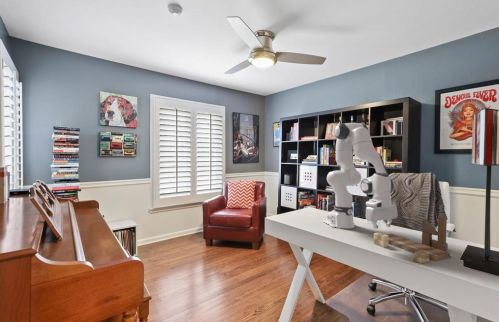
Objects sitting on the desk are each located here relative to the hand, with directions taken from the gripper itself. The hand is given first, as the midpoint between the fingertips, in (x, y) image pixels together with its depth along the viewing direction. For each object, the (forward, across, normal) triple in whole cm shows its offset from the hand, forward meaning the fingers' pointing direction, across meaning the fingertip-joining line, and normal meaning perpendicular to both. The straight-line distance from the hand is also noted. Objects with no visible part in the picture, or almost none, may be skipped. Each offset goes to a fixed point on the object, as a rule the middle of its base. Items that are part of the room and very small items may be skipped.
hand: (382, 227), depth 134 cm
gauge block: (+10, 0, -1) cm, 10 cm away
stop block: (+10, 0, +21) cm, 24 cm away
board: (+10, -12, +7) cm, 17 cm away
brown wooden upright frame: (+10, -24, +12) cm, 29 cm away
